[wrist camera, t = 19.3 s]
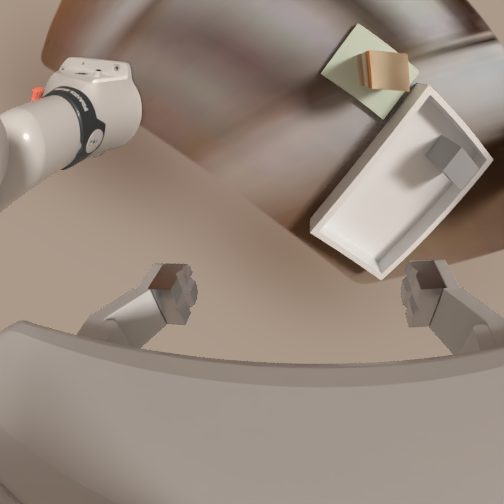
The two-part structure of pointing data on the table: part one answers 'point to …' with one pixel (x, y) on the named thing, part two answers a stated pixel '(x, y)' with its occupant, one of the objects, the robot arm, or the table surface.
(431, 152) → the grey box
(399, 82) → the banded box
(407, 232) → the bin
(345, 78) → the sage board
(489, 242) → the table surface
